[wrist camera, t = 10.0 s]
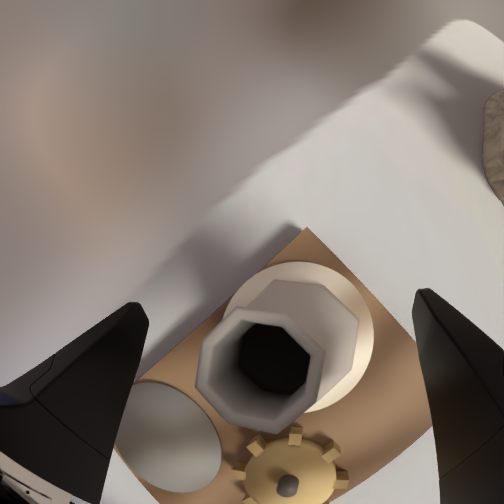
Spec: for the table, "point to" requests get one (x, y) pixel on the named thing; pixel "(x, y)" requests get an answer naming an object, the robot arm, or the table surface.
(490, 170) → the ceramic cottage
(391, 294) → the table surface
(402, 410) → the gear board
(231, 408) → the flask
